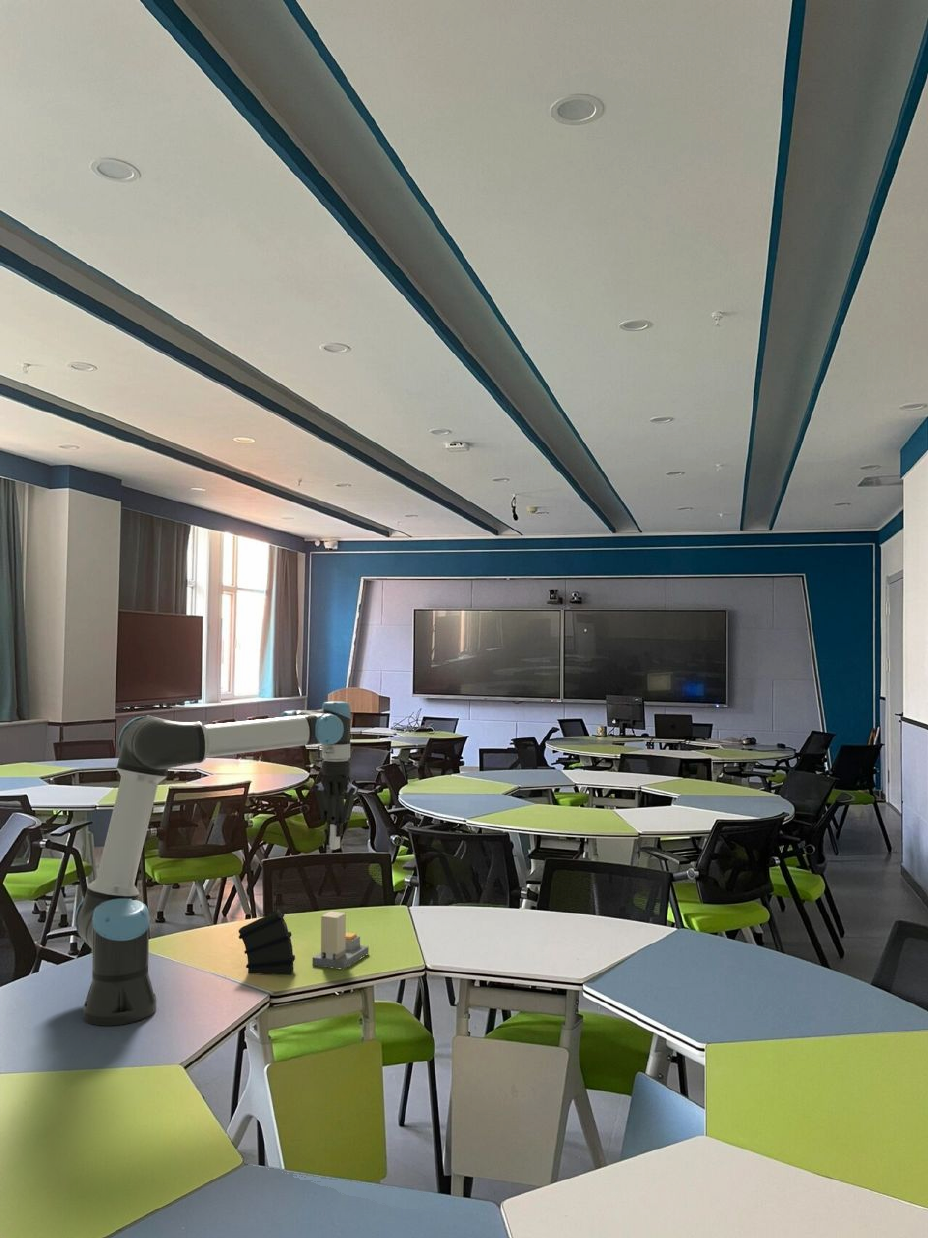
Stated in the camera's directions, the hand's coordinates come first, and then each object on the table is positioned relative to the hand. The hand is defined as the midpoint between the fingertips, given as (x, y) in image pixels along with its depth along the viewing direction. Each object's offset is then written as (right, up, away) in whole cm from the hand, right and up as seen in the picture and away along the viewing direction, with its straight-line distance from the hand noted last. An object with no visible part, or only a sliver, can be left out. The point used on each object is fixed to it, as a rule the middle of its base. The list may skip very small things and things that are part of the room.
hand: (335, 848), depth 254 cm
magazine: (-14, -26, -18) cm, 35 cm away
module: (+1, -24, -13) cm, 27 cm away
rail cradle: (+3, -26, -9) cm, 28 cm away
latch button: (+4, -24, -6) cm, 25 cm away
